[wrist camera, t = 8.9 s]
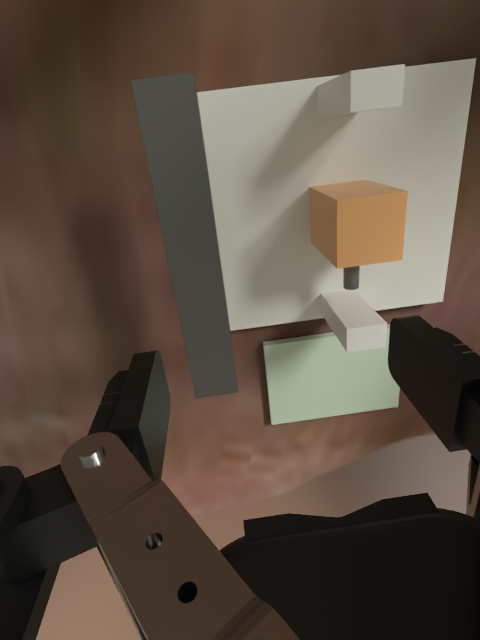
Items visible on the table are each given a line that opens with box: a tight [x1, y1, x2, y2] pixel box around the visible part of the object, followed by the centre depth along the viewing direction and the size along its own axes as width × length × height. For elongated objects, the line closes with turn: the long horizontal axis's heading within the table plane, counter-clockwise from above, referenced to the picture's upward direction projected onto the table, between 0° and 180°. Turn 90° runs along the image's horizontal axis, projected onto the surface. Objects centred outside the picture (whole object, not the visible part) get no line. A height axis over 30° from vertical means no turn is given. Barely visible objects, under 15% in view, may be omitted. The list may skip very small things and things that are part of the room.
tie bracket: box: [197, 58, 476, 352], centre depth 28 cm, size 20×19×8 cm
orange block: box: [310, 179, 408, 290], centre depth 28 cm, size 4×8×7 cm, turn 7°
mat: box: [263, 324, 400, 425], centre depth 39 cm, size 14×10×1 cm
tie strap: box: [131, 72, 238, 398], centre depth 23 cm, size 3×19×2 cm, turn 7°
